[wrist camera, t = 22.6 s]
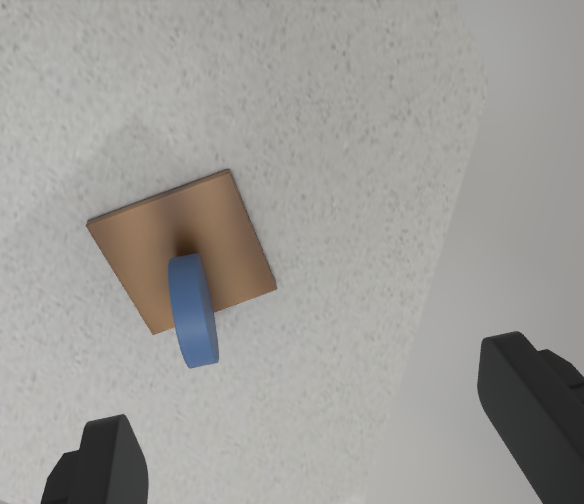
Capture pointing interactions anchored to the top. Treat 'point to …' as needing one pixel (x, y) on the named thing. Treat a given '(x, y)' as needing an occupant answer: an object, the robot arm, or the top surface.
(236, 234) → the plate
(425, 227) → the top surface
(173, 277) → the disc
